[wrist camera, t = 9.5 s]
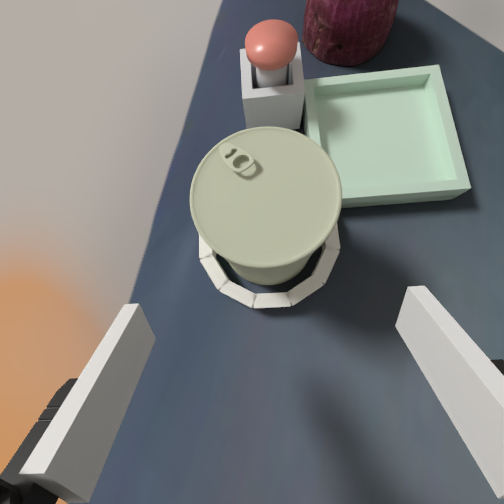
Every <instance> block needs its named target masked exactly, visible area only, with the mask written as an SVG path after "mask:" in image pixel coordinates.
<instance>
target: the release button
mask: <svg viewBox="0 0 504 504" xmlns="http://www.w3.org/2000/svg"><path fill="white" fill-rule="evenodd" d="M297 44H298V35H297V32H296V30H295V29H294V28H293V26H291V25H290V24H289V23H287V22H285V21H281V20H266V21H263V22H260V23H258V24H256V25H255V26H254V27H252V28H251V29H250V31H249V32H248V34H247V36H246V39H245V47H246V55H247V58H248V60H249V62H250V63H251V64H252V65H253V66H255V67H256V76H257V89H259V88H268V87H276V86H285V85H286V74H287V65H288V64H289V63H290V62H291V61H292V60H293V59H294V57H295V55H296V52H297Z"/></svg>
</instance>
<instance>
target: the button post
mask: <svg viewBox="0 0 504 504" xmlns="http://www.w3.org/2000/svg"><path fill="white" fill-rule="evenodd" d="M240 61H241V81H242V99H243V106H244V113H245V120H246V127H247V129H250V128H255V127H267V126H272V127H281V128H286V129H290V130H292V129H300V123H301V116H302V110H303V103H304V97H305V86H304V78H303V69H302V61H301V52H300V43H299V42H298V44H297V52H296V55H295V57H294V59H293V60H292V61H291V62H290V63H289V64H288V65H287V74H286V85H285V86H276V87H268V88H259V89H257V76H256V67H255V66H253V65H252V64H251V63H250V62H249V60H248V58H247V55H246V49H240Z"/></svg>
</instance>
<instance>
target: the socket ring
mask: <svg viewBox="0 0 504 504" xmlns="http://www.w3.org/2000/svg"><path fill="white" fill-rule="evenodd" d="M339 249H340V242H339V234H338V227H337V223H336V225H335V227H334V229H333V231H332V232H331V234H330V235H329V237H328V238H327V239H326V241H325V242H324V243H323V244H322V253H321V255H320V257H319V259H318V262H317V264H316V266H315V268H314V270H313V272H312V274H311V277H309V278H308V279H306V280H305V281H303V282H302V283H300V284H299V285H297V286H296V287H294V288H293V289H291V290H290V291H288V292H282V293H264V294H254V293H252V292H251V291H249V290H247V289H245V288H243V287H241V286H239V285H237V284H235V283H233V282H231V281H230V279H229V278H228V276H227V274H226V273H225V271H224V270H223V268H222V266H221V265H220V263H219V262H218V260H217V258H216V252H215V251H214V250H213V249H211V248H210V247H209V246H208V245H207V243H206V242H205V241H204V240H203V238H202V237H201V236H200V234H199V258H200V259H201V260H200V261H201V263H202V264H203V266H204V268H205V269H206V271H207V273H208V274H209V276H210V278H211V279H212V281H213V283H214V284H215V286H216V288H217V289H218V290H220V292H222V293H224V294H226V295H228V296H230V297H231V298H233V299H235V300H237V301H239V302H241V303H243V304H245V305H247V306H249V307H250V308H253V306H254V308H271V307H291V306H293V305H295V304H296V303H298V302H299V301H301V300H302V299H304V298H305V297H307V296H308V295H310V294H311V293H313V292H314V291H316V290H317V289H319V288H320V287H322V286H323V284H325V283H326V281H327V278H328V276H329V274H330V272H331V270H332V267H333V265H334V263H335V261H336V259H337V256H338V254H339V252H340V251H339Z"/></svg>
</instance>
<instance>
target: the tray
mask: <svg viewBox="0 0 504 504" xmlns="http://www.w3.org/2000/svg"><path fill="white" fill-rule="evenodd" d="M304 86H305V97H304V103H303V110H302V115H303V124H304V133H305V136H307V137H309V138H310V139H312V140H313V141H315V142H316V143H317V144H318V145H319V146H320V147H322V148H323V149H324V150H325V152H326V153H327V154H328V155H329V157H330V158H331V159H332V161H333V163H334V165H335V167H336V169H337V171H338V174H339V177H340V180H341V186H342V206H341V208H350V207H362V206H375V205H388V204H401V203H414V202H427V201H440V200H452V199H454V198H455V197H457V196H459V195H461V194H462V193H464V192H466V191H467V190H469V189H471V186H470V182H469V178H468V174H467V170H466V167H465V163H464V159H463V155H462V151H461V148H460V144H459V140H458V136H457V132H456V129H455V125H454V121H453V117H452V113H451V109H450V106H449V102H448V98H447V94H446V90H445V87H444V83H443V79H442V75H441V71H440V67H439V65H432V66H423V67H414V68H405V69H397V70H388V71H379V72H370V73H361V74H352V75H344V76H335V77H326V78H317V79H308V80H304Z"/></svg>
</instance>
